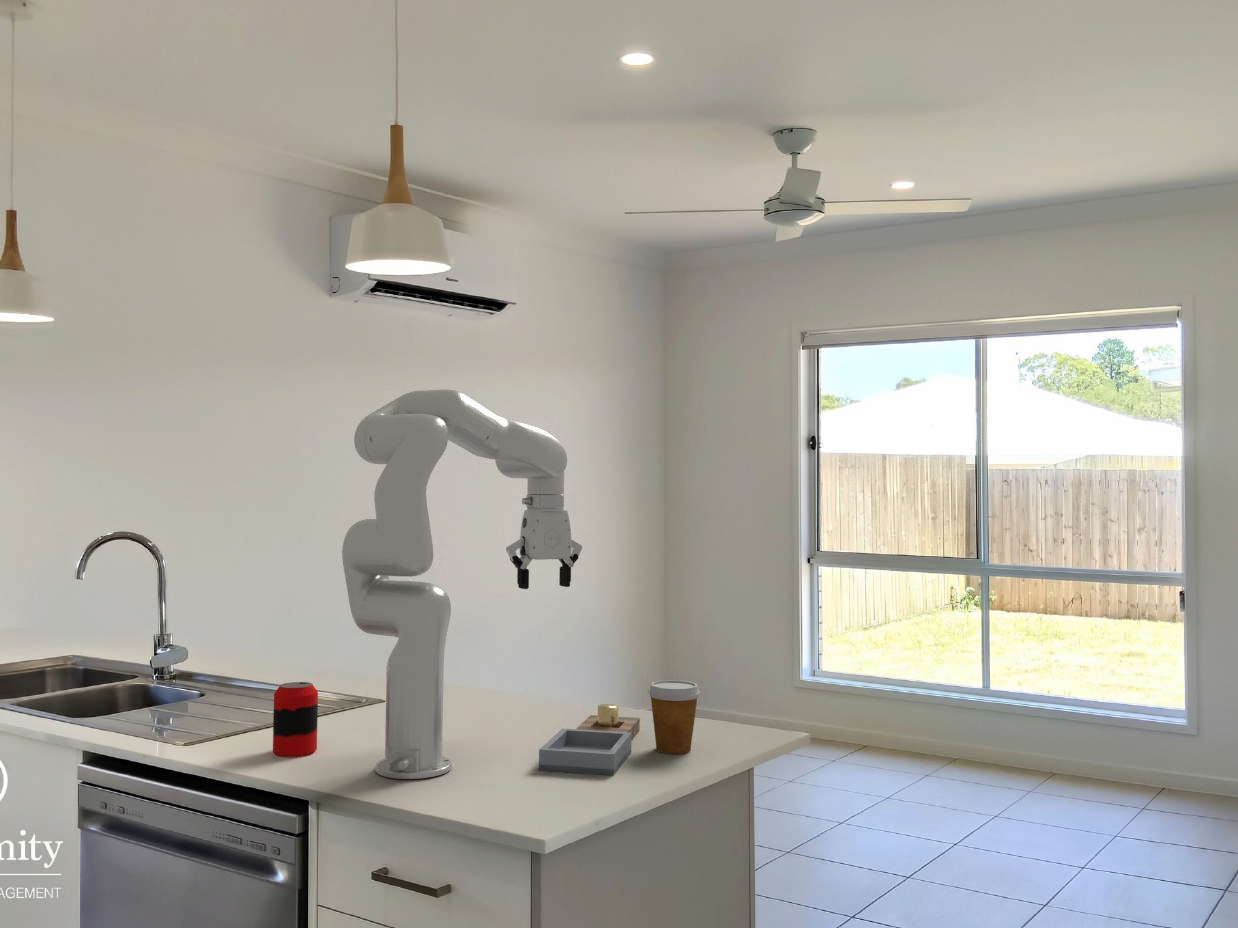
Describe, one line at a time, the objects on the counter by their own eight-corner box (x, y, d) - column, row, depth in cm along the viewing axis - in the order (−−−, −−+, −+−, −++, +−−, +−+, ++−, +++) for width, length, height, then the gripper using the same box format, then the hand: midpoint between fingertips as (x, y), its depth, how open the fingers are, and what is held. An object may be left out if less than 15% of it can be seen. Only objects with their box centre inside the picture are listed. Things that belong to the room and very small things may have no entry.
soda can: (325, 749, 189) (327, 683, 189) (298, 759, 182) (299, 690, 182) (291, 745, 192) (293, 679, 192) (263, 754, 185) (264, 686, 185)
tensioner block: (626, 747, 193) (626, 733, 193) (573, 743, 195) (574, 730, 195) (639, 730, 207) (639, 717, 207) (590, 727, 209) (590, 714, 209)
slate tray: (613, 775, 174) (614, 754, 174) (538, 770, 177) (539, 749, 177) (631, 751, 190) (631, 732, 190) (562, 747, 193) (562, 728, 193)
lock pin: (615, 740, 199) (616, 708, 199) (595, 738, 199) (595, 707, 200) (619, 735, 203) (620, 704, 203) (599, 734, 203) (600, 703, 204)
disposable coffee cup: (707, 748, 194) (708, 683, 194) (684, 759, 185) (685, 691, 186) (662, 741, 198) (663, 677, 199) (638, 751, 190) (639, 685, 191)
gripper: (516, 503, 205) (515, 591, 205) (591, 504, 215) (589, 587, 214) (499, 503, 211) (497, 587, 211) (571, 503, 221) (570, 584, 221)
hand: (544, 587), depth 213 cm, fingers open, 9 cm apart
